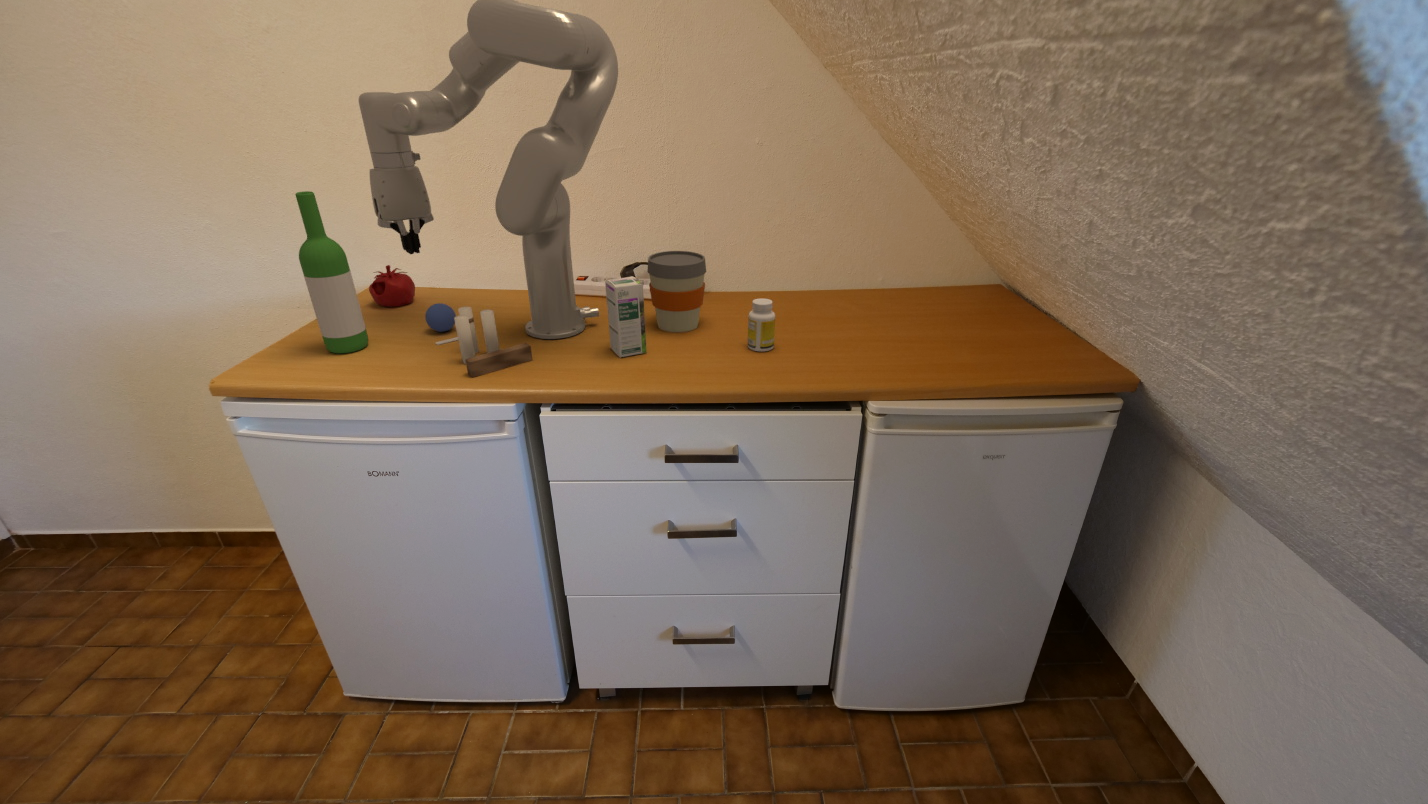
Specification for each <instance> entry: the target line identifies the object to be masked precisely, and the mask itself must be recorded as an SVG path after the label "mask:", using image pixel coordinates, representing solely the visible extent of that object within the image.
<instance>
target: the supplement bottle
mask: <svg viewBox="0 0 1428 804" xmlns="http://www.w3.org/2000/svg"><path fill="white" fill-rule="evenodd" d="M773 303H774V302H773V300H772V299H769V298H755V299H753V300H752V305H751V307H752V310H750V312H749V313H748V317H747V319H748V321H747V323H748V324H747V347H748V349H750V350H751V351H755V352H763V353H764V352H768V351H772V350H773V349H774V346H775V332H776V331H775V330H776V313H775V312H774V311H773Z"/></svg>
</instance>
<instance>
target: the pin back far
mask: <svg viewBox="0 0 1428 804" xmlns="http://www.w3.org/2000/svg"><path fill="white" fill-rule="evenodd" d="M454 320H455V324H454V326H455V330H456V335H457V337H458V340H457V341H458V345H459V350H460V354H461V359H462V360H461V361H462V364H463V365H466V361H465V359H468V358H472V357H475V356H476V353H475V352H474V347H473V342H472V336H471V331H470V325H469V320H468V316H466V315H460V316H459V315H456V317H455V318H454Z"/></svg>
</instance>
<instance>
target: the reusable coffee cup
mask: <svg viewBox="0 0 1428 804" xmlns="http://www.w3.org/2000/svg"><path fill="white" fill-rule="evenodd" d="M647 273H648V274H649V280H650V282H649V284H648V286H649V292H650V293H649V294H650V297H651V304H652V306H653V307H654V309H655V316H656V321H657V326H658V328H659V329H660V330H661V331H664V332H665V331H666V332H670V333H683V332H684V333H686V332H690V331H693V330H695V329H697V327H698V326H699V322H700V321H699V319H700V314H701V313H700V311H701V307H703V302H704V295H705V288H706V283H705V274H706V273H707V264H706V257H705V255H703V254H701V253H698V252H694V251H688V250H687V251H686V250H668V251H660V252H656V253H653V254H651V255H649V256H648V259H647Z"/></svg>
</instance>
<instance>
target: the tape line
mask: <svg viewBox="0 0 1428 804" xmlns="http://www.w3.org/2000/svg"><path fill="white" fill-rule="evenodd" d="M455 341H459V340H458V336H456V337H452V338H447V339H444V340H440V341H436V342H435V345H436V346H440V345H443V344H447V343H452V342H455Z"/></svg>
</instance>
